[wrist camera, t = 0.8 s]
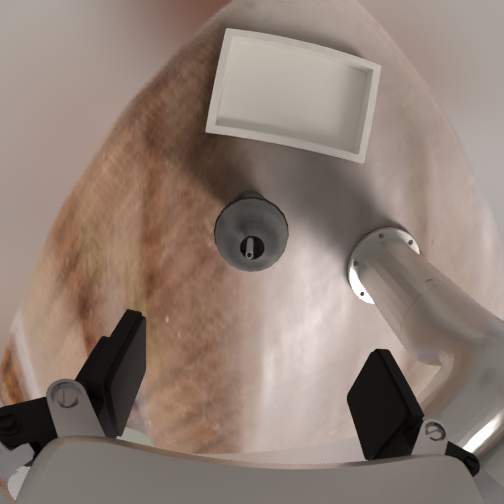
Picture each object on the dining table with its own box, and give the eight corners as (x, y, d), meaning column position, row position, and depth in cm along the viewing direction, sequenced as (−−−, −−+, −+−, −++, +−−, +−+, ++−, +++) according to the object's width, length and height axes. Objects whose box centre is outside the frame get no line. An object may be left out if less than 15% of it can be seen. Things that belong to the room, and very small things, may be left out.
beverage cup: (230, 238, 41) (218, 322, 23) (216, 188, 39) (188, 235, 20) (282, 226, 41) (311, 301, 22) (270, 174, 38) (294, 209, 20)
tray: (372, 69, 33) (381, 65, 30) (355, 162, 38) (363, 164, 35) (227, 35, 31) (226, 28, 28) (208, 132, 36) (205, 132, 33)
